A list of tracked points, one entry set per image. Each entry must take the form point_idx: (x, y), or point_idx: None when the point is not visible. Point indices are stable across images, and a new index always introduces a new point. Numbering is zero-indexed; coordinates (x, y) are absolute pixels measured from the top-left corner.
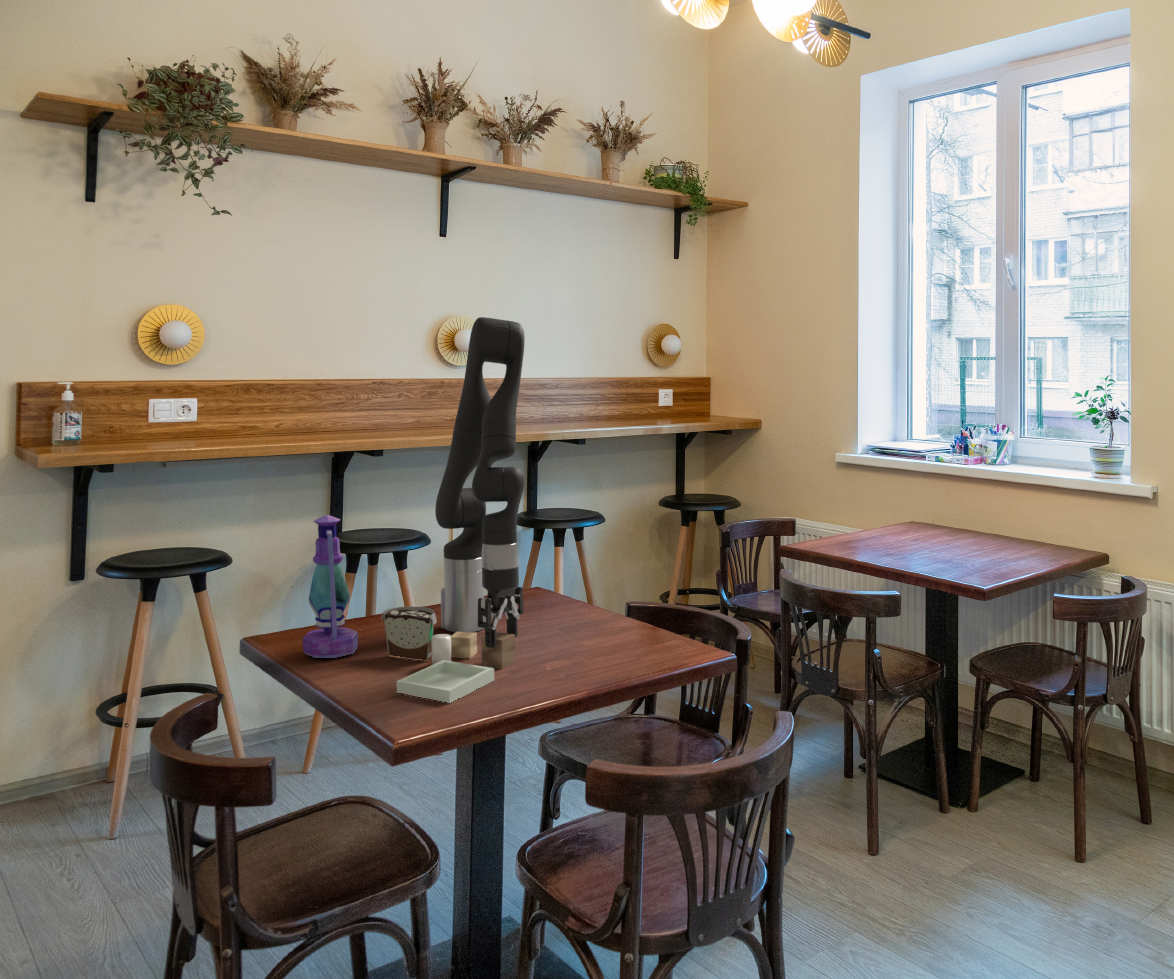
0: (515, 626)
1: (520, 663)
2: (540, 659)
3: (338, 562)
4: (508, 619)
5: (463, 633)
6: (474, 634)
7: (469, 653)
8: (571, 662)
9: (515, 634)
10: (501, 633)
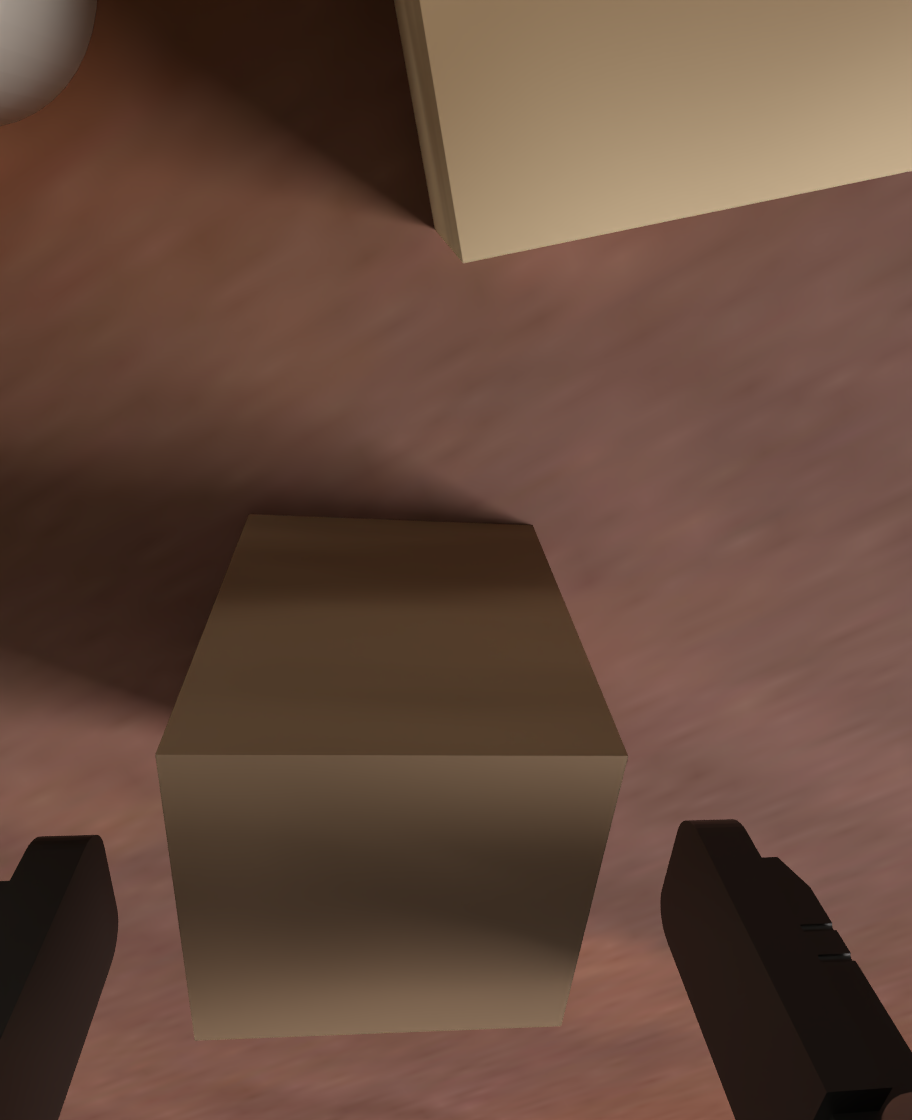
0: (724, 1077)
1: None
2: (656, 858)
3: None
4: (836, 1111)
5: None
6: (773, 193)
7: (438, 220)
8: (645, 1025)
9: (676, 948)
10: (545, 887)
